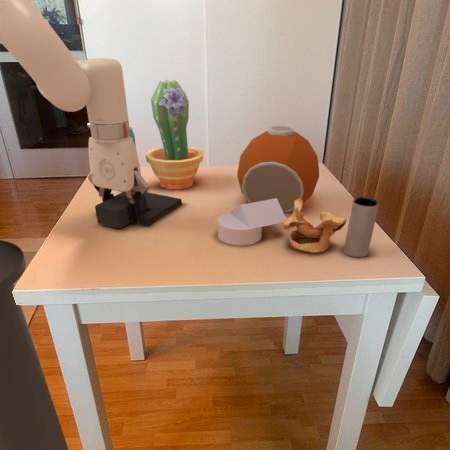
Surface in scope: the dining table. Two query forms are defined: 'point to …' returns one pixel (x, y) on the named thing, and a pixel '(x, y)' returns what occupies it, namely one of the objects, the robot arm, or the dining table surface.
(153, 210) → the base pad
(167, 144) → the potted cactus
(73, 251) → the dining table surface
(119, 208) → the black rectangular block
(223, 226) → the wedge on round base
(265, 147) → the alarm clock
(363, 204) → the grey cylinder
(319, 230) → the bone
